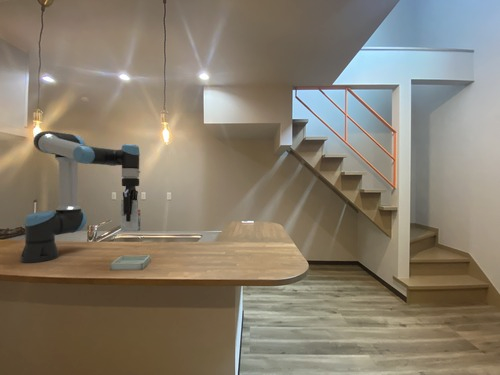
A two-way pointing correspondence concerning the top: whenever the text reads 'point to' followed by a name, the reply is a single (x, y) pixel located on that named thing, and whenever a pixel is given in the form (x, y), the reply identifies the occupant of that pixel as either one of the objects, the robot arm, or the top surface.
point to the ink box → (135, 217)
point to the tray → (130, 262)
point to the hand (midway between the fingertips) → (130, 227)
